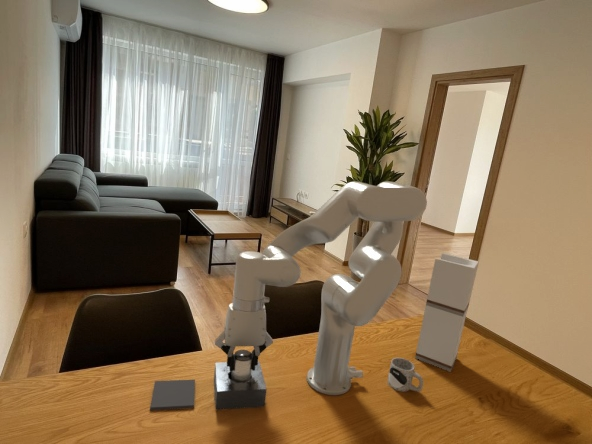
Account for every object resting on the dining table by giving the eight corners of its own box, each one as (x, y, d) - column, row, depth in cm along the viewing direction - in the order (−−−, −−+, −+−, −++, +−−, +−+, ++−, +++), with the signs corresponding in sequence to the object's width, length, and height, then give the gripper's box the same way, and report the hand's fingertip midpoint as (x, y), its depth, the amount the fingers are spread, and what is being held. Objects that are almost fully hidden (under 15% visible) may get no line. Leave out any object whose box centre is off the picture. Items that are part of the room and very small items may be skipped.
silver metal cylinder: (248, 381, 102) (251, 348, 100) (250, 393, 97) (254, 359, 95) (229, 382, 100) (232, 349, 98) (231, 394, 96) (234, 360, 94)
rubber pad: (194, 382, 101) (195, 379, 101) (194, 408, 91) (194, 405, 91) (154, 383, 98) (155, 381, 98) (149, 410, 89) (150, 407, 89)
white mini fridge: (456, 358, 130) (478, 261, 123) (450, 372, 121) (474, 268, 114) (422, 346, 136) (442, 252, 129) (414, 358, 127) (435, 258, 120)
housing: (257, 377, 106) (259, 361, 105) (264, 406, 95) (266, 389, 94) (213, 379, 103) (215, 362, 102) (215, 409, 92) (217, 391, 91)
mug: (383, 383, 111) (387, 362, 110) (394, 374, 116) (398, 355, 115) (415, 401, 105) (419, 379, 103) (425, 391, 110) (429, 371, 108)
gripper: (278, 295, 99) (271, 358, 103) (212, 295, 95) (207, 360, 99) (284, 308, 92) (277, 375, 96) (213, 308, 88) (208, 378, 92)
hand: (241, 367), depth 97 cm, fingers closed on silver metal cylinder, 5 cm apart
